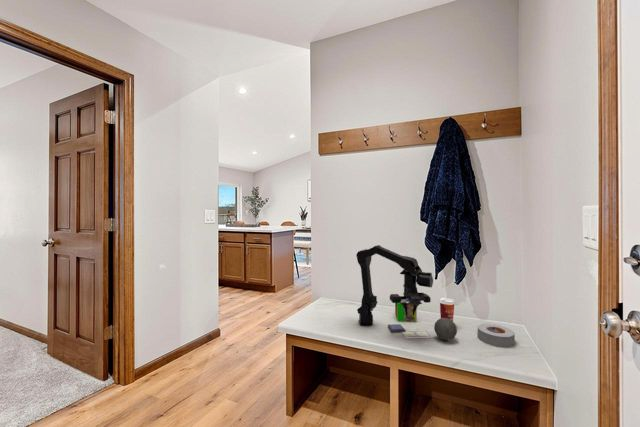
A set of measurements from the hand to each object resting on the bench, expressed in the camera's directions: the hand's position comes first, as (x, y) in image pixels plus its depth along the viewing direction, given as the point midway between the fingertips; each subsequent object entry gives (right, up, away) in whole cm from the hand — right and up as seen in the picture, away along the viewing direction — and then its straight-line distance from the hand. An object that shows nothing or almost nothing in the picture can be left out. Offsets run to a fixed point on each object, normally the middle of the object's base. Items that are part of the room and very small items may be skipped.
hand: (409, 315), depth 153 cm
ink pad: (-5, -9, +6) cm, 12 cm away
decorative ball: (+16, -10, -5) cm, 19 cm away
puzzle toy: (+4, -9, +22) cm, 24 cm away
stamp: (0, -2, 0) cm, 2 cm away
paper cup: (+23, -9, +11) cm, 27 cm away
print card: (+3, -10, +1) cm, 10 cm away
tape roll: (+39, -10, -5) cm, 41 cm away
